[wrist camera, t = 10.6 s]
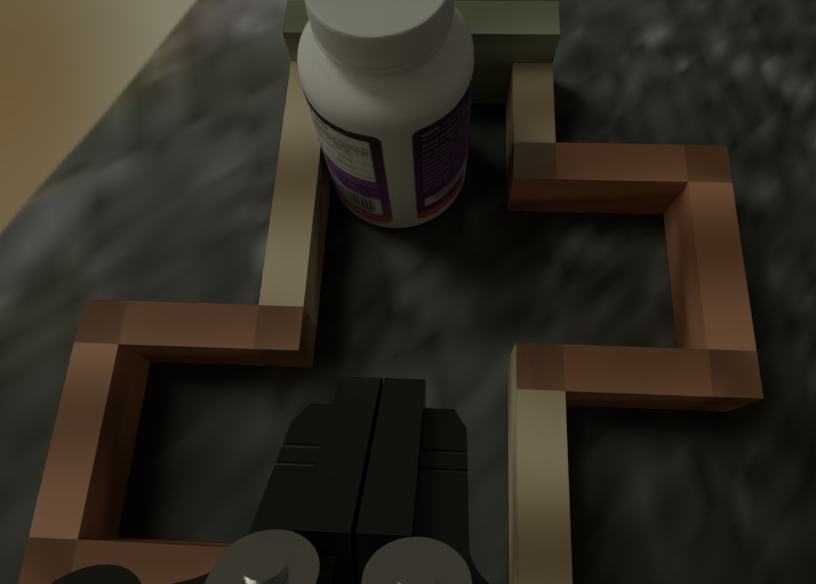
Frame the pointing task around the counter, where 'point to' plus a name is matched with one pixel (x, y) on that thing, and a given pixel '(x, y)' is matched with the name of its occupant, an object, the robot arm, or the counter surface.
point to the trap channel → (528, 363)
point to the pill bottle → (390, 103)
